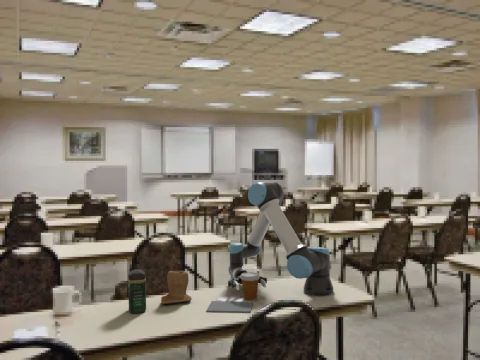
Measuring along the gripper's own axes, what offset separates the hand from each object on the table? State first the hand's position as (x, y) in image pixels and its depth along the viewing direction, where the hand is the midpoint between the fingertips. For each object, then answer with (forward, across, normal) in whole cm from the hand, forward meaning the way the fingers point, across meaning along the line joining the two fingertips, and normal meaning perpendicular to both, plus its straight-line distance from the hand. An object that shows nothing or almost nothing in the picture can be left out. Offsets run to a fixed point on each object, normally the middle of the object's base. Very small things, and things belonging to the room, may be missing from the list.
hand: (251, 286), depth 211 cm
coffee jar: (-2, +54, -7) cm, 55 cm away
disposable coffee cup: (-3, 0, -7) cm, 8 cm away
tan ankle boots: (-10, +36, -7) cm, 38 cm away
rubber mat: (+7, +12, -7) cm, 16 cm away
